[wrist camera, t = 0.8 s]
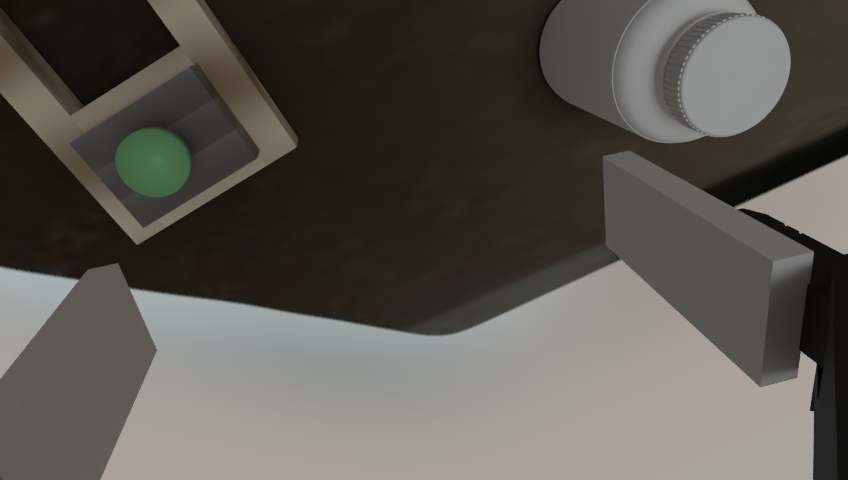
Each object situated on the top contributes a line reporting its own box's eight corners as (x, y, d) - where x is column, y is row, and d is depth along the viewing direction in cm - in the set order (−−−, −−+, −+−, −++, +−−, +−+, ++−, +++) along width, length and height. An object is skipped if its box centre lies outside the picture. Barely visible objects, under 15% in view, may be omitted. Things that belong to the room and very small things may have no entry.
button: (117, 141, 32) (99, 153, 30) (170, 107, 32) (157, 117, 30) (160, 193, 34) (147, 209, 31) (212, 161, 34) (203, 174, 31)
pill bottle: (571, 129, 41) (695, 197, 27) (514, 31, 38) (622, 53, 24) (667, 60, 40) (844, 95, 27) (617, -46, 37) (788, -68, 23)
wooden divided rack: (-217, -184, 28) (-306, -213, 24) (-18, -325, 28) (-76, -378, 24) (147, 230, 39) (127, 258, 35) (298, 138, 38) (295, 155, 34)
